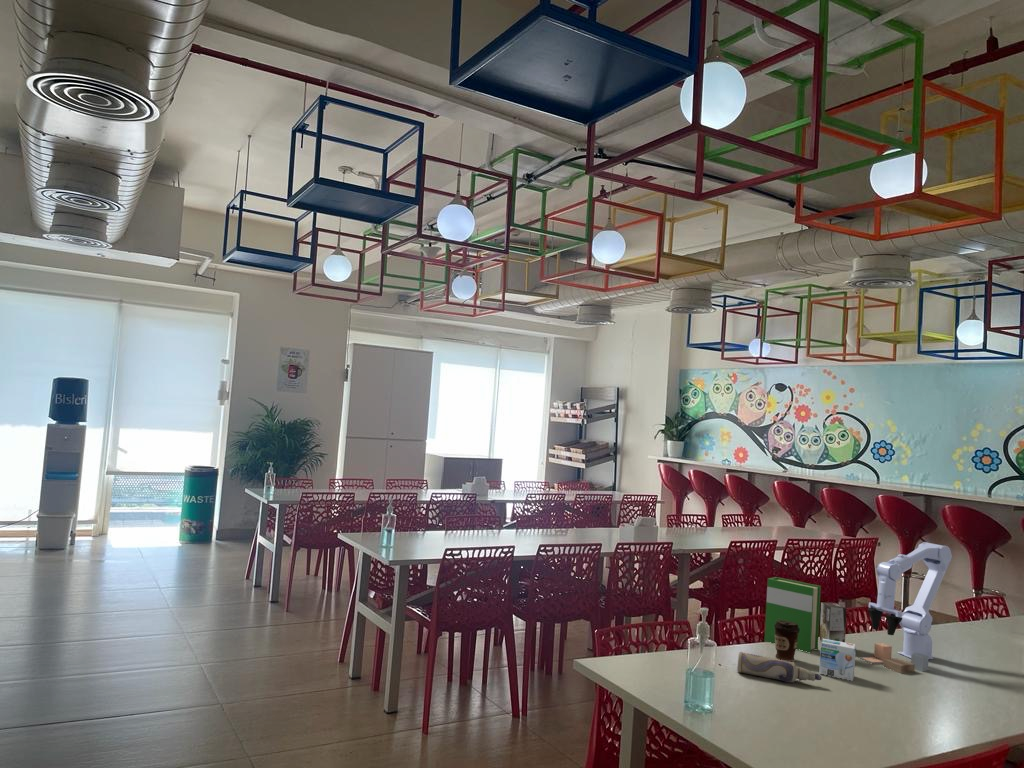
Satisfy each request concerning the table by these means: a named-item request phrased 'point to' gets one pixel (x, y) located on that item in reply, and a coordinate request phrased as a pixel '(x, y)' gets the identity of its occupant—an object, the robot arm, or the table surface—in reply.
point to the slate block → (920, 661)
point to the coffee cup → (786, 639)
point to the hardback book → (793, 610)
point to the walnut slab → (899, 665)
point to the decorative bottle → (773, 668)
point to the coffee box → (832, 622)
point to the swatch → (872, 660)
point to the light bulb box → (837, 659)
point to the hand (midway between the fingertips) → (882, 632)
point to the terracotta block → (882, 651)
